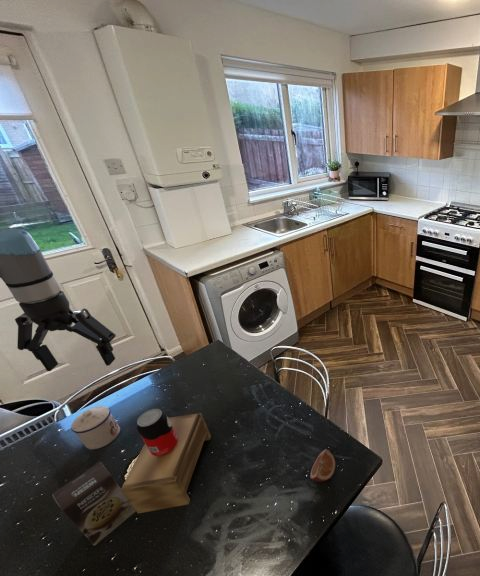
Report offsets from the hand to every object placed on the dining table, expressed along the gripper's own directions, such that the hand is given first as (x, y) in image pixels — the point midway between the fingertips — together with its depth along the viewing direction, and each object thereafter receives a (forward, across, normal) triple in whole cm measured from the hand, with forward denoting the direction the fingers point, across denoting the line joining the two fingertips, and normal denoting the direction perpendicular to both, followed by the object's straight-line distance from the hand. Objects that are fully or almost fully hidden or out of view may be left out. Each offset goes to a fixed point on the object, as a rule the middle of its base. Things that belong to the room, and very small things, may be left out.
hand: (82, 364), depth 82 cm
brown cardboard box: (+31, -8, +24) cm, 40 cm away
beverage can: (+20, -20, +14) cm, 31 cm away
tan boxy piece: (+31, -20, +14) cm, 39 cm away
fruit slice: (+31, -61, +21) cm, 71 cm away
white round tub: (+31, +8, -3) cm, 32 cm away
